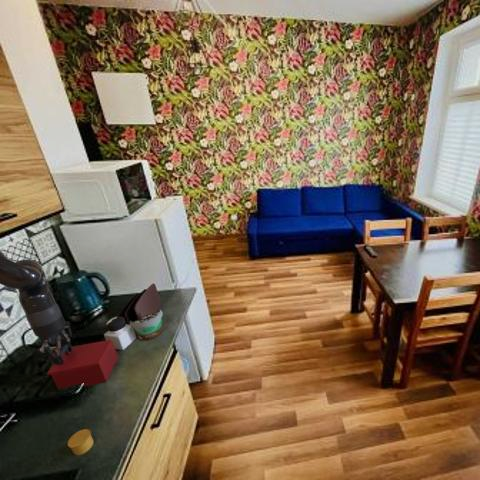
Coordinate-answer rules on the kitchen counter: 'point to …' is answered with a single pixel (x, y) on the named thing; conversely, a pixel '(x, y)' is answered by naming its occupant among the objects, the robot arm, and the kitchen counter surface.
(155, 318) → the food container
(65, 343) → the robot arm
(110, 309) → the kitchen counter surface
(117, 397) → the kitchen counter surface
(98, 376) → the maroon rectangular box
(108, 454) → the kitchen counter surface
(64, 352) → the box lid
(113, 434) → the kitchen counter surface
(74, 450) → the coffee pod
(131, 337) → the medicine bottle
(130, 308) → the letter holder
